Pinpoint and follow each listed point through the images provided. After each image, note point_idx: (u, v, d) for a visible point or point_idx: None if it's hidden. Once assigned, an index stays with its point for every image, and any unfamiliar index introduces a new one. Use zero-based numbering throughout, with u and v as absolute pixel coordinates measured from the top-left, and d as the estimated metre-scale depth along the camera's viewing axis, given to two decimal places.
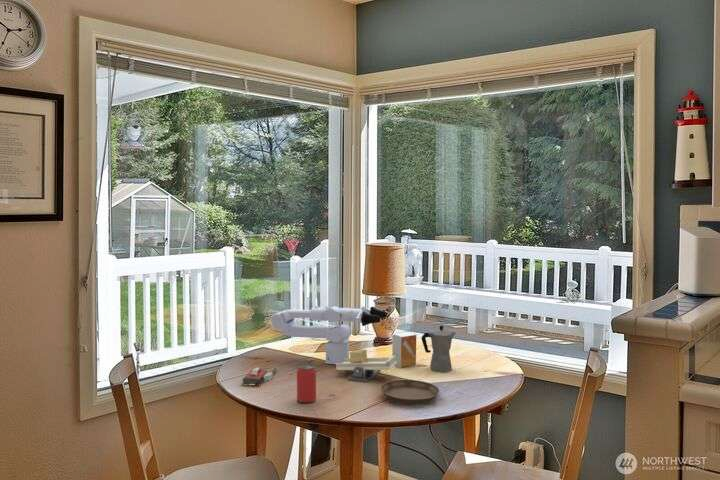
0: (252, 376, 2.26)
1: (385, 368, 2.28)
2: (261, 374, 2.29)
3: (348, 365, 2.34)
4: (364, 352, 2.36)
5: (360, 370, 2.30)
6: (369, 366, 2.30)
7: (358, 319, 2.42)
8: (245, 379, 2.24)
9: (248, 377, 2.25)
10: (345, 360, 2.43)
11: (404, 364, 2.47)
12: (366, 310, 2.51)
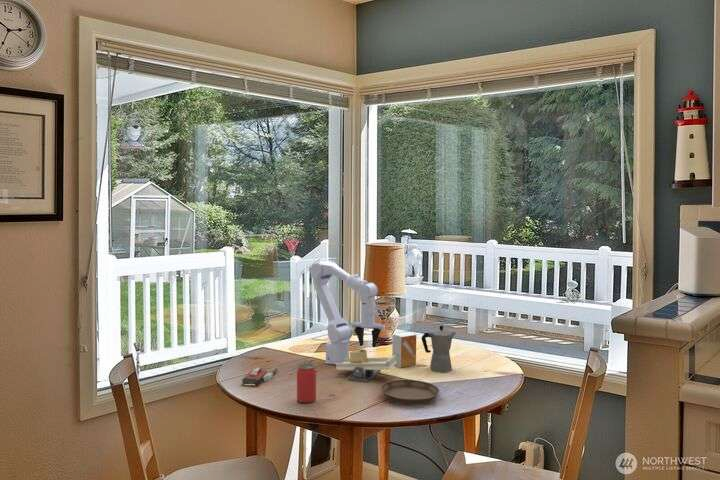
0: (252, 376, 2.26)
1: (385, 368, 2.28)
2: (261, 374, 2.29)
3: (348, 365, 2.34)
4: (364, 352, 2.36)
5: (360, 370, 2.30)
6: (369, 366, 2.30)
7: None
8: (244, 379, 2.24)
9: (248, 377, 2.25)
10: (345, 360, 2.43)
11: (404, 364, 2.47)
12: None
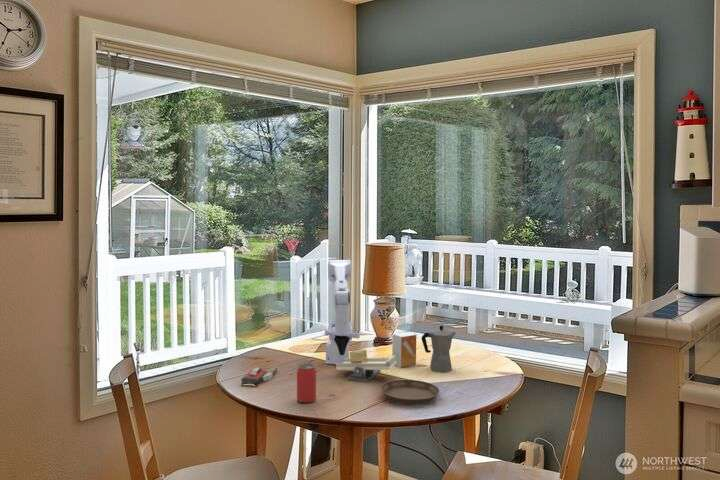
0: (251, 376, 2.26)
1: (385, 368, 2.28)
2: (260, 374, 2.29)
3: (348, 365, 2.34)
4: (364, 352, 2.36)
5: (360, 370, 2.30)
6: (369, 366, 2.30)
7: None
8: (244, 379, 2.24)
9: (247, 377, 2.25)
10: (345, 360, 2.43)
11: (404, 364, 2.47)
12: None
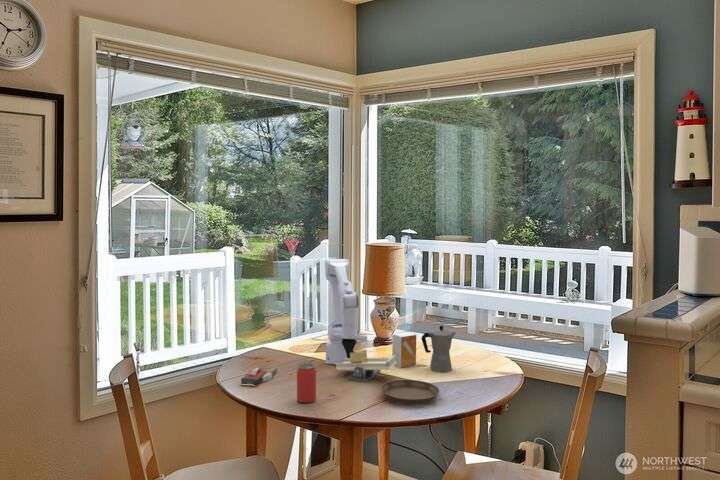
0: (250, 376, 2.26)
1: (385, 368, 2.28)
2: (260, 374, 2.29)
3: (348, 365, 2.34)
4: (364, 352, 2.36)
5: (360, 370, 2.30)
6: (369, 366, 2.30)
7: None
8: (243, 379, 2.24)
9: (246, 377, 2.25)
10: (345, 360, 2.43)
11: (404, 364, 2.47)
12: None
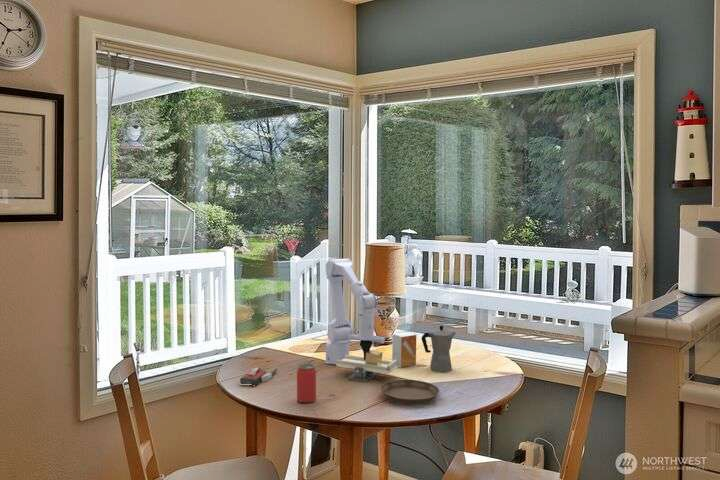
0: (249, 376, 2.26)
1: (385, 372, 2.28)
2: (259, 374, 2.29)
3: (348, 363, 2.33)
4: (380, 354, 2.34)
5: (360, 370, 2.30)
6: (370, 368, 2.30)
7: None
8: (242, 379, 2.24)
9: (245, 377, 2.25)
10: (345, 357, 2.43)
11: (404, 364, 2.47)
12: None
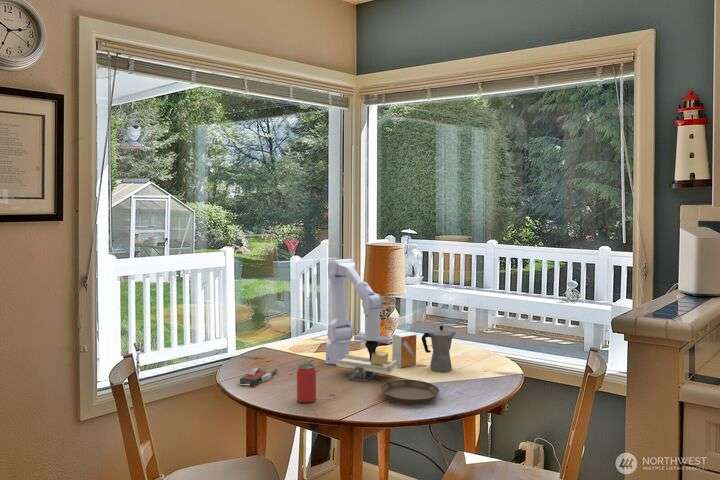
0: (249, 376, 2.26)
1: (385, 372, 2.28)
2: (259, 374, 2.28)
3: (349, 363, 2.33)
4: (386, 355, 2.33)
5: (360, 370, 2.30)
6: (370, 368, 2.30)
7: None
8: (242, 379, 2.24)
9: (245, 377, 2.25)
10: (345, 356, 2.43)
11: (404, 364, 2.47)
12: None
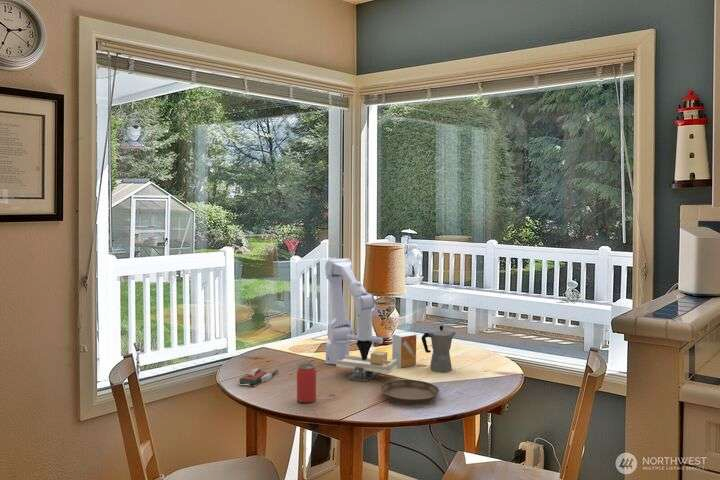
0: (249, 376, 2.26)
1: (385, 372, 2.28)
2: (259, 375, 2.28)
3: (348, 363, 2.33)
4: (385, 355, 2.33)
5: (360, 370, 2.30)
6: (370, 368, 2.30)
7: None
8: (241, 379, 2.24)
9: (244, 377, 2.25)
10: (345, 357, 2.43)
11: (404, 364, 2.47)
12: None
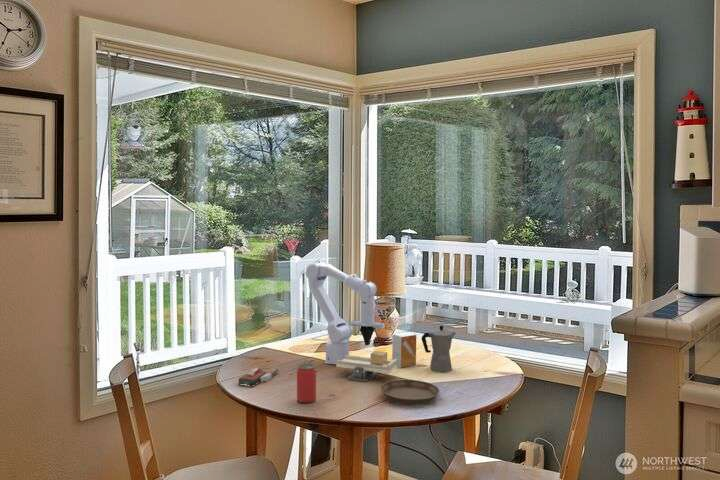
0: (248, 376, 2.26)
1: (385, 372, 2.28)
2: (258, 375, 2.28)
3: (348, 363, 2.33)
4: (385, 355, 2.33)
5: (360, 370, 2.30)
6: (370, 368, 2.30)
7: None
8: (240, 379, 2.24)
9: (244, 377, 2.25)
10: (345, 357, 2.43)
11: (404, 364, 2.47)
12: None
